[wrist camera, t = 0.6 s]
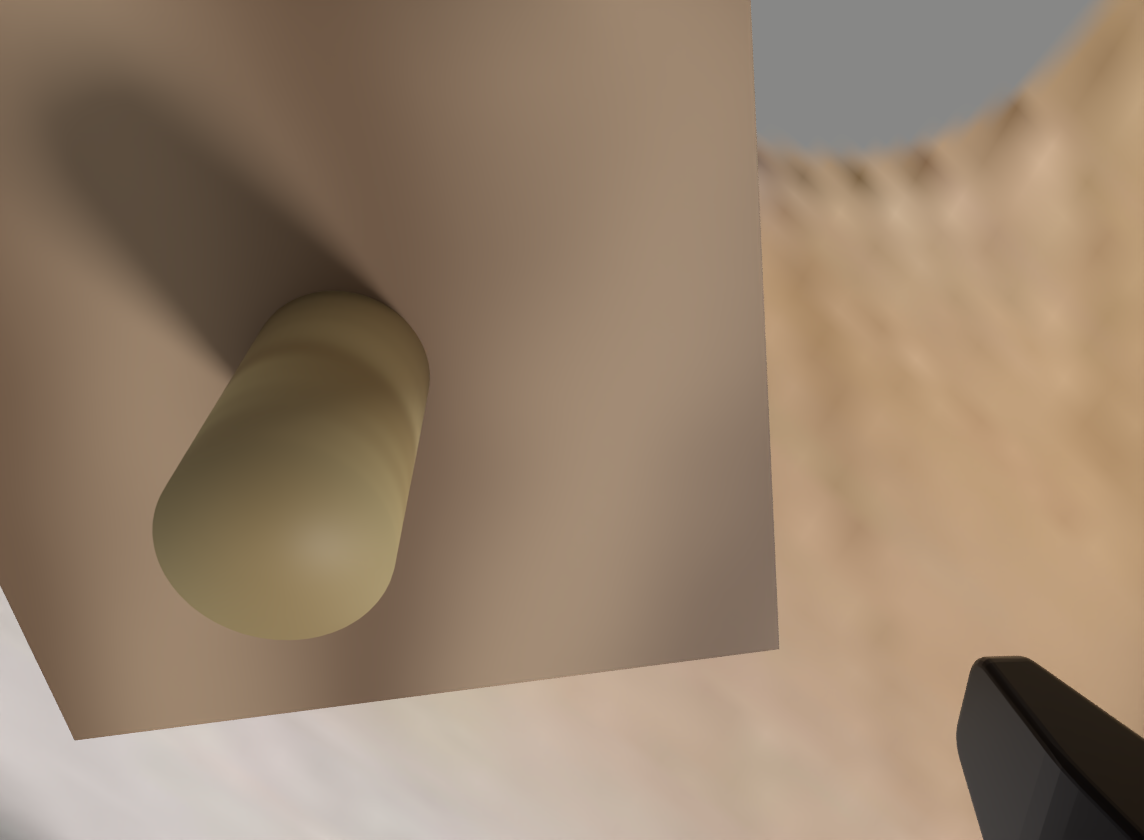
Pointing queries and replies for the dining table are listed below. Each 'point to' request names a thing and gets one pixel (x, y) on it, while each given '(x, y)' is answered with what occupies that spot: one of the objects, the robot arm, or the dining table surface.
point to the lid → (377, 348)
